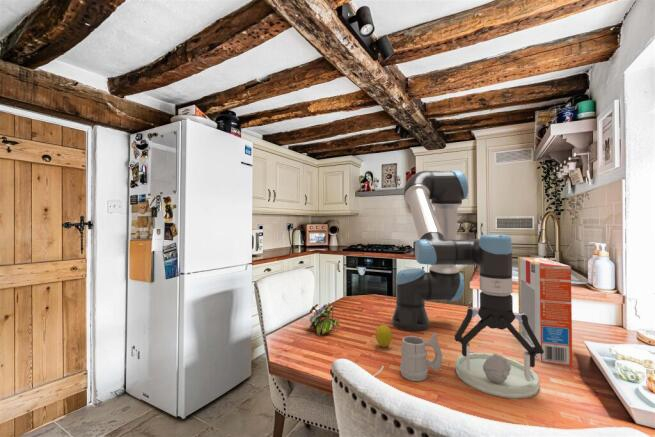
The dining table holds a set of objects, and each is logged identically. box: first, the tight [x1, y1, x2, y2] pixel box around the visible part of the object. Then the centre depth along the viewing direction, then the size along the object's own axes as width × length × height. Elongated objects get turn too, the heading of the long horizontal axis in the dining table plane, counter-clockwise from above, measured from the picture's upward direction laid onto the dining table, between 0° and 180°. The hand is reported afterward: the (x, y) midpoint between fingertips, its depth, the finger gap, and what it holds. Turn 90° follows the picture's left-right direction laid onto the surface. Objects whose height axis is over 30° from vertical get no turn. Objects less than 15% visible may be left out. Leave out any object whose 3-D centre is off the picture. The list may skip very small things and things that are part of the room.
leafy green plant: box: [309, 302, 340, 337], centre depth 119 cm, size 13×12×14 cm
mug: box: [399, 332, 443, 382], centre depth 84 cm, size 8×12×12 cm, turn 87°
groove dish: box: [455, 352, 540, 400], centre depth 83 cm, size 20×20×2 cm
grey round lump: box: [483, 353, 511, 384], centre depth 78 cm, size 6×7×7 cm
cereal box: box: [517, 256, 573, 367], centre depth 102 cm, size 23×8×30 cm, turn 161°
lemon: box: [375, 323, 393, 349], centre depth 103 cm, size 6×6×8 cm
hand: (496, 373), depth 78 cm, fingers open, 13 cm apart
